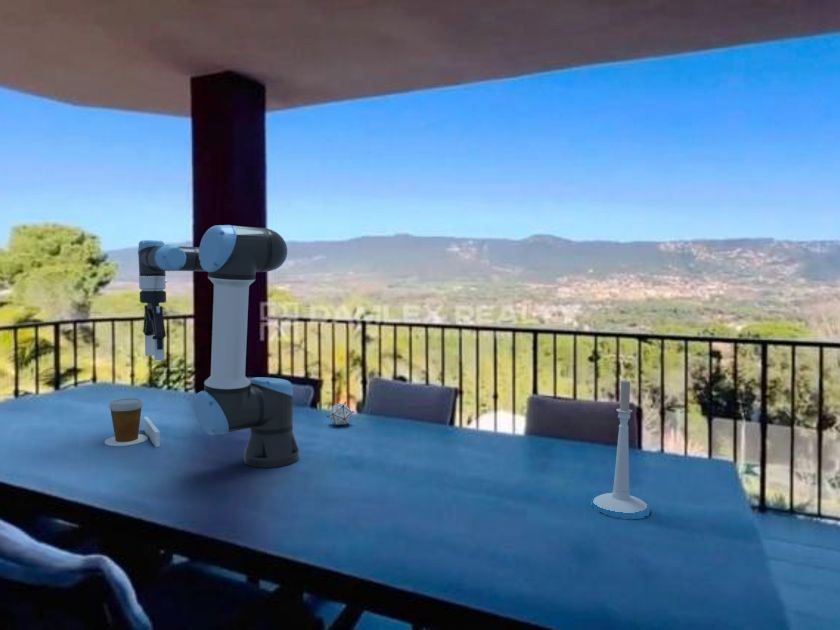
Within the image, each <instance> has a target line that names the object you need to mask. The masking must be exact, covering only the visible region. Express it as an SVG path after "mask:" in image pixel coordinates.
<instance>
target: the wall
mask: <svg viewBox="0 0 840 630" xmlns="http://www.w3.org/2000/svg"><path fill="white" fill-rule="evenodd" d="M143 431H144V433H145V435H146V436H147V437H148V439H149V440H150V441H151V442H152V444H153V445H154V447H155V448H160V447H161V432H160V430H159V429H158V427H156V425H155V424H154V423H153V422H152V420H151V419H150V418H149V417H148V416H143Z"/></svg>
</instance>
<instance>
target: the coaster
mask: <svg viewBox="0 0 840 630" xmlns="http://www.w3.org/2000/svg"><path fill="white" fill-rule="evenodd" d="M148 439H149V437H148V436H147V434H142V433H141V434H140V433H138V439H136V440H134V441H129V442H117V441H116V440H115V435H114V436H111V437H108V438H107V439H105V440H104V444H105V445H106V446H110V447H126V446H135V445H138V444H142V443H145V442H146V441H148Z"/></svg>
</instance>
